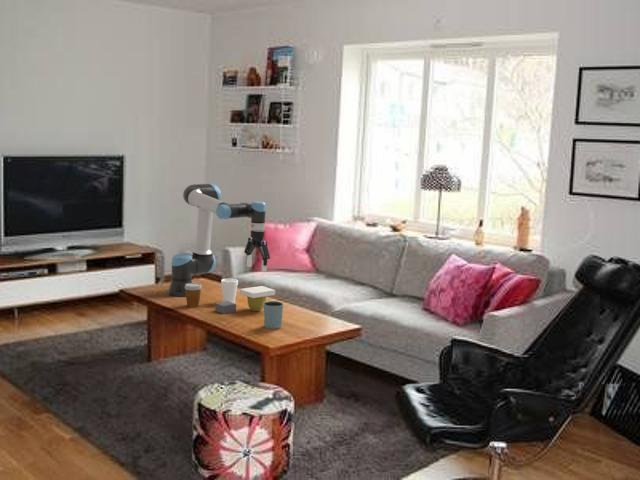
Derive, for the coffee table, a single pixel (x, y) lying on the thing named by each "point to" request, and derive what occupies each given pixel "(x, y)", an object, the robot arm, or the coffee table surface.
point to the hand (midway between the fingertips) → (256, 269)
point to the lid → (257, 291)
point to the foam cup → (229, 289)
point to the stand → (225, 307)
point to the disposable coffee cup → (193, 294)
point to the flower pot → (256, 303)
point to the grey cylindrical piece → (273, 314)
